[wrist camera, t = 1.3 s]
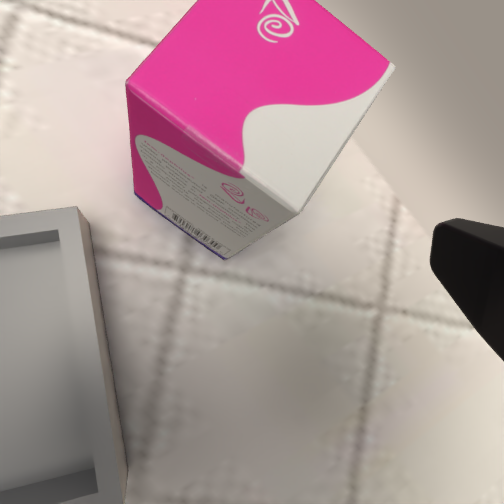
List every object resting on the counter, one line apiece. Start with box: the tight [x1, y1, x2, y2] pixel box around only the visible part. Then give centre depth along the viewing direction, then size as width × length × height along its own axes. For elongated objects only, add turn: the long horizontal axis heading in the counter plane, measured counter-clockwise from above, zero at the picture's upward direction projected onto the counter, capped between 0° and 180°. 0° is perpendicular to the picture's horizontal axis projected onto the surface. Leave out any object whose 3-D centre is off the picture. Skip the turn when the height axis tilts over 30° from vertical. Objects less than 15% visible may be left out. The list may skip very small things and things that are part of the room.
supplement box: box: [125, 0, 395, 260], centre depth 18 cm, size 6×6×12 cm
